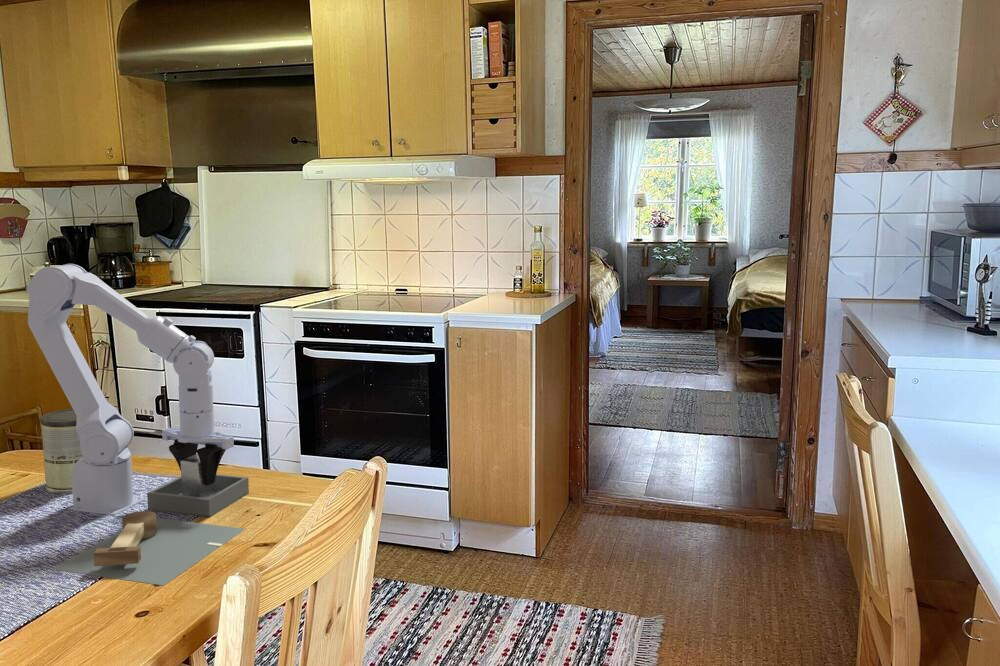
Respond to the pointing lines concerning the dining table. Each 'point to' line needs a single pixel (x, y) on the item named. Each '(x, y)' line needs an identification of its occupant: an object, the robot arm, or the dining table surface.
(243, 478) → the tray
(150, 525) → the crank lever
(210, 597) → the dining table surface
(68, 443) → the coffee can
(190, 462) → the block
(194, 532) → the crank board
